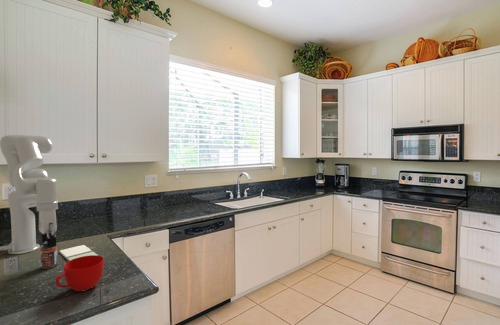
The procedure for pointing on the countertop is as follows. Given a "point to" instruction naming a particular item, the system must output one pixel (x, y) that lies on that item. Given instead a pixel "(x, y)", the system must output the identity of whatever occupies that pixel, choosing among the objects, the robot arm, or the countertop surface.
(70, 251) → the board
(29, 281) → the countertop surface
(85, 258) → the ceramic cup
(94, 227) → the countertop surface
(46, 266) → the supplement bottle
